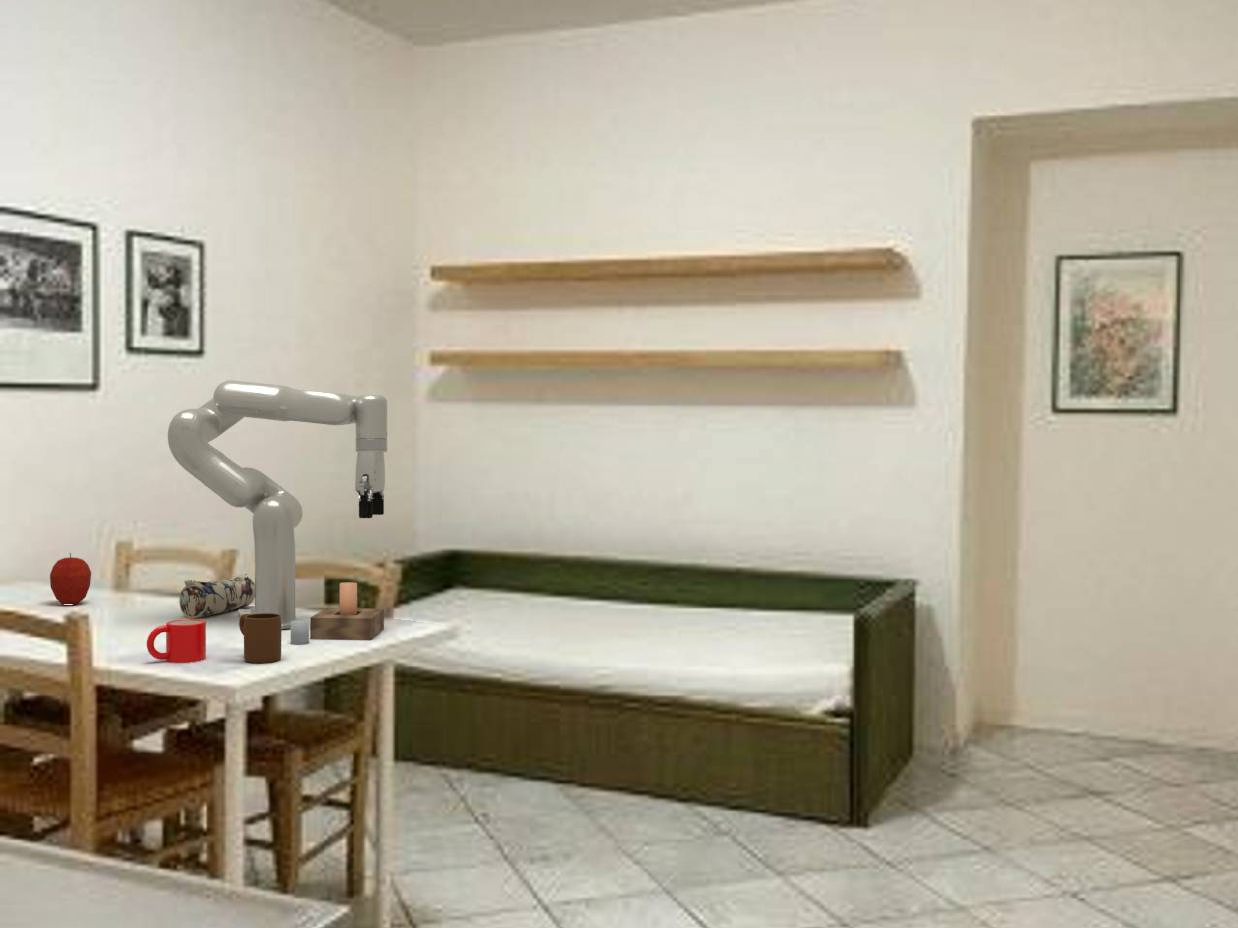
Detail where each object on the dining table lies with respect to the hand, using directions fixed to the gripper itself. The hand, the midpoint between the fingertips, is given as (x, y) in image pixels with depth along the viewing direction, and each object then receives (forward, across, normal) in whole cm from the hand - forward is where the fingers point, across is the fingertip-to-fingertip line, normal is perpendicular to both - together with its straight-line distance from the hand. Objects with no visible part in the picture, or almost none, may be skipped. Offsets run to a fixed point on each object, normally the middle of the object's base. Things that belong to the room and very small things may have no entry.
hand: (371, 516), depth 300 cm
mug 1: (+27, +46, -28) cm, 60 cm away
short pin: (+27, +24, -10) cm, 37 cm away
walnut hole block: (+27, +11, -2) cm, 29 cm away
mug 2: (+27, +42, -13) cm, 51 cm away
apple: (+27, -20, -88) cm, 94 cm away
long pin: (+27, +11, -2) cm, 29 cm away
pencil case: (+27, -14, -44) cm, 54 cm away
